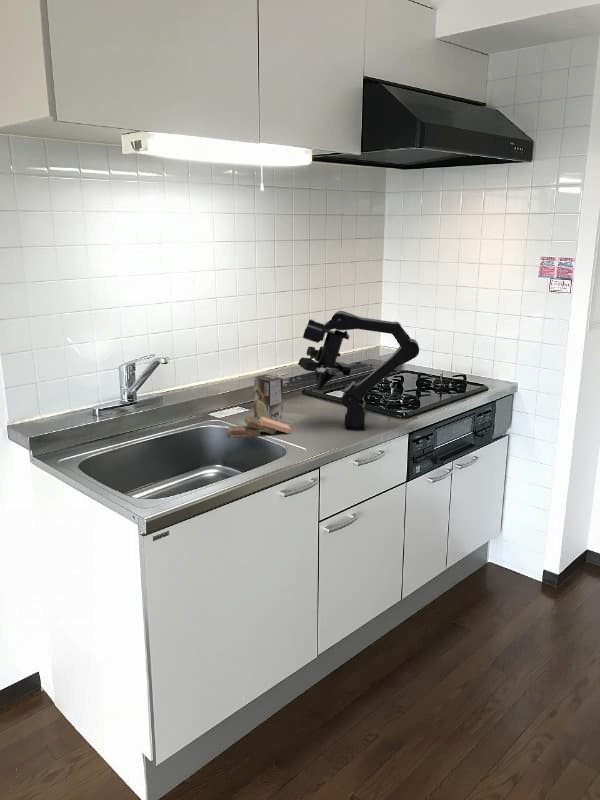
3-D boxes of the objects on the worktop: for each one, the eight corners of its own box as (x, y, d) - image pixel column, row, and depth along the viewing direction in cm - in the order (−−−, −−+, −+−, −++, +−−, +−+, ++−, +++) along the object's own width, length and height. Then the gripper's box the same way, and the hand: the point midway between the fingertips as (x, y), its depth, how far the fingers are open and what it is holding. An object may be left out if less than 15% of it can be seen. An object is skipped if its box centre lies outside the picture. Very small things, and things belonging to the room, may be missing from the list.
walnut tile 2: (272, 425, 224) (246, 416, 221) (276, 430, 220) (249, 421, 216) (270, 429, 225) (244, 420, 221) (274, 434, 220) (247, 425, 216)
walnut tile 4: (257, 429, 224) (228, 431, 221) (261, 434, 219) (231, 436, 216) (257, 434, 224) (228, 436, 221) (261, 438, 219) (231, 440, 217)
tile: (287, 424, 226) (260, 416, 223) (291, 429, 221) (264, 420, 218) (285, 429, 226) (259, 420, 223) (289, 433, 222) (262, 425, 218)
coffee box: (283, 422, 234) (284, 378, 230) (270, 426, 230) (270, 381, 226) (266, 416, 241) (266, 373, 236) (253, 420, 236) (253, 376, 232)
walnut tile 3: (258, 425, 223) (228, 426, 222) (260, 429, 218) (229, 430, 217) (258, 429, 224) (228, 430, 222) (260, 434, 219) (229, 435, 217)
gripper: (341, 342, 235) (328, 382, 240) (297, 335, 225) (284, 377, 229) (358, 353, 226) (344, 395, 231) (313, 347, 216) (299, 390, 221)
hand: (318, 389), depth 228 cm, fingers closed
